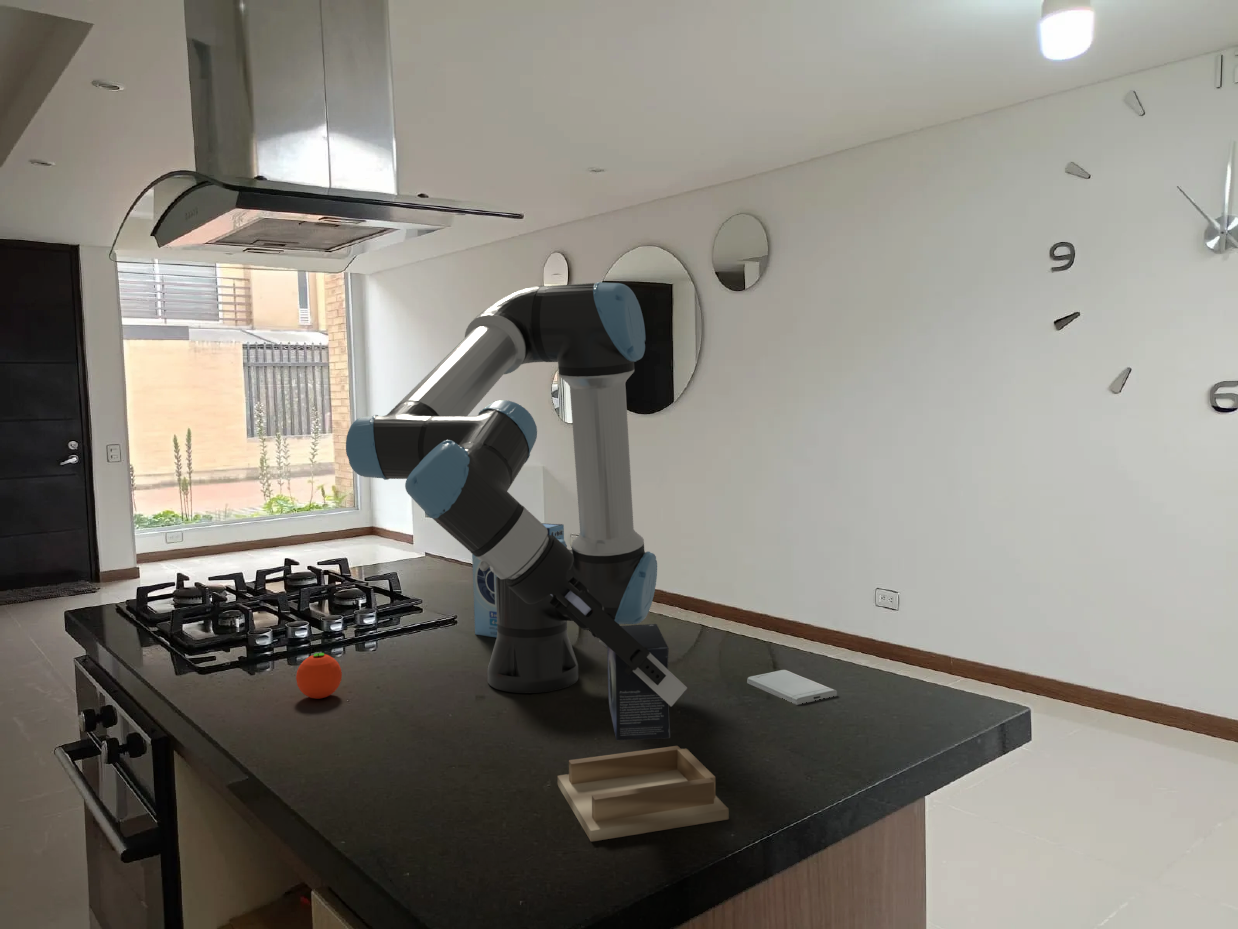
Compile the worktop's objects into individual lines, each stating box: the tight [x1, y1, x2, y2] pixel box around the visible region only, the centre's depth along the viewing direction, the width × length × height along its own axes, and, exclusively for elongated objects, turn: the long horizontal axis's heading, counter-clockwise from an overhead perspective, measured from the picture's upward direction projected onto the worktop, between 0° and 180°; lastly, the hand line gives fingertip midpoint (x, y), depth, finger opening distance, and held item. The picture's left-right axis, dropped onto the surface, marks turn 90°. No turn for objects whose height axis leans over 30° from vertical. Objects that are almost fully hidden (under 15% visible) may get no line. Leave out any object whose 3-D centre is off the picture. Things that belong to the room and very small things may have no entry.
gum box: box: [471, 522, 565, 639], centre depth 180 cm, size 20×5×23 cm, turn 59°
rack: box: [557, 745, 730, 842], centre depth 108 cm, size 15×16×4 cm
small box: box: [606, 623, 671, 741], centre depth 106 cm, size 11×6×10 cm, turn 5°
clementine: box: [295, 652, 343, 700], centre depth 147 cm, size 8×7×7 cm
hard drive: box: [746, 669, 838, 706], centre depth 148 cm, size 2×8×12 cm
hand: (659, 680), depth 107 cm, fingers closed on small box, 11 cm apart
